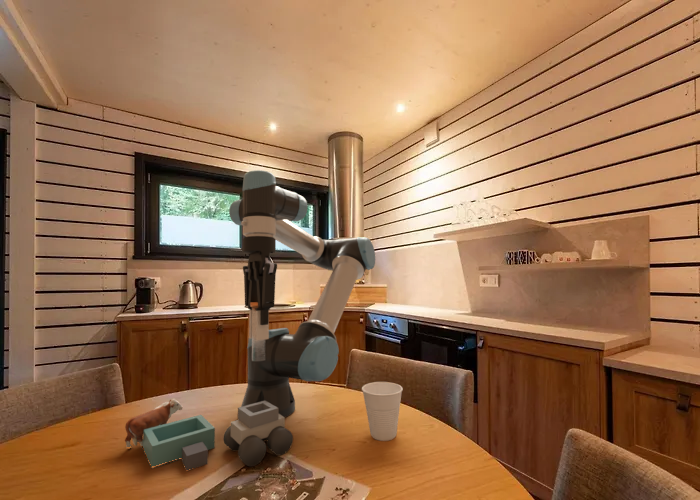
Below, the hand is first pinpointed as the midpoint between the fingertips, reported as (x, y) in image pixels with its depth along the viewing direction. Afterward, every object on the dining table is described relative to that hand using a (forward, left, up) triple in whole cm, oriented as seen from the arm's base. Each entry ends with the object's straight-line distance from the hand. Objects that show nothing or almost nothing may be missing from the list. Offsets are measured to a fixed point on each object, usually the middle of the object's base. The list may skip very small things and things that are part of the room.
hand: (258, 338), depth 75 cm
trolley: (0, 0, -24) cm, 24 cm away
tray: (-13, -13, -24) cm, 30 cm away
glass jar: (0, 0, -5) cm, 5 cm away
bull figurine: (-22, -17, -25) cm, 37 cm away
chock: (-4, -12, -24) cm, 28 cm away
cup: (+14, +25, -24) cm, 38 cm away
